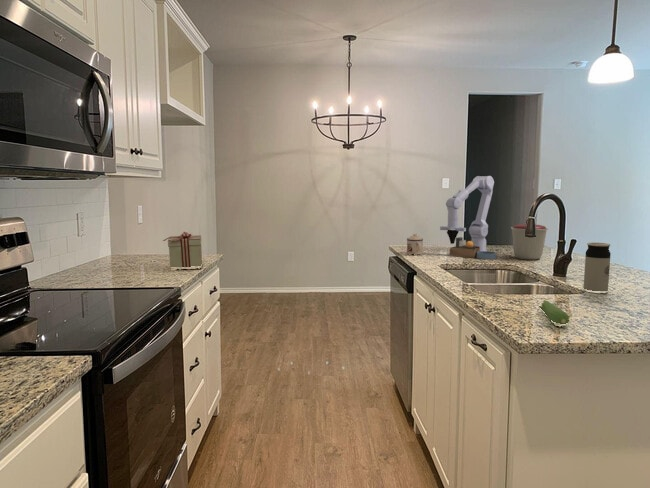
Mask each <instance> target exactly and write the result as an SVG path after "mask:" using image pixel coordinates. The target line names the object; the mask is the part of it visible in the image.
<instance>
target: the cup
mask: <svg viewBox="0 0 650 488" xmlns="http://www.w3.org/2000/svg"><path fill="white" fill-rule="evenodd" d="M497 258H498V253H497V252H496V251H489V250H486V251H478V252H476V259H478V260H485V259H492V260H497Z"/></svg>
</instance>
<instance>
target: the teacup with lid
mask: <svg viewBox="0 0 650 488" xmlns="http://www.w3.org/2000/svg"><path fill="white" fill-rule="evenodd" d="M423 241H424V238H422V237H420V236H419V235H418V234H417V233H413V234H412V235H411V236H409V237H407V238H406V254H407V255H408V254H415V255H414V256H418V255H417V254H422V255H423Z"/></svg>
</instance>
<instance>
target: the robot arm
mask: <svg viewBox="0 0 650 488" xmlns="http://www.w3.org/2000/svg"><path fill="white" fill-rule="evenodd" d="M494 185H495V181H494V178H493V177H492V176H491V175H487V176H486V175H485V176H483V175H482V176H480V175H477V176H475V177H474V178H473V180H472V181H471V182H470V183H469V185H467V186H466V188H464V189H459V190H458V192H457V193H455V194H454V195H453V196H452V197H449V198H448V199H447V200H446V202H445V206H446V208H447V209H446V211H447V226H440V227H439V230H440V231H446V234H447V236H448V238H449V241H450V245H454V244H455V243H456V238H457V236H458V234H459V232H466V231H467V227H460V226H459V213H460V212H459V210H460V209H459V208H461V207H462V204H463V202H464V201H466V200H468V198H469V194H471V193H472V192H473V191H475V190H476V189H477V190H478V191H479V192H480V193H481V197H480V201H479V204H478V209H477V213H476V215H475V220H473V221H472V222H471V224H470V226H469V228H468V234H469V236H470V237H471V238H470V239H471V240H470V241H471V242H473V246H478V247H480V251H487V239H486V237H487V235H488V233H489V224H488V223H487V221H486V220H487V216H488V213H489V208H490V204H491V201H492V196H493V192H494V190H493V189H494Z"/></svg>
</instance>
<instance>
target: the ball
mask: <svg viewBox="0 0 650 488" xmlns="http://www.w3.org/2000/svg"><path fill="white" fill-rule="evenodd" d="M466 247H473V242H471V240H468V241H466Z"/></svg>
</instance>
